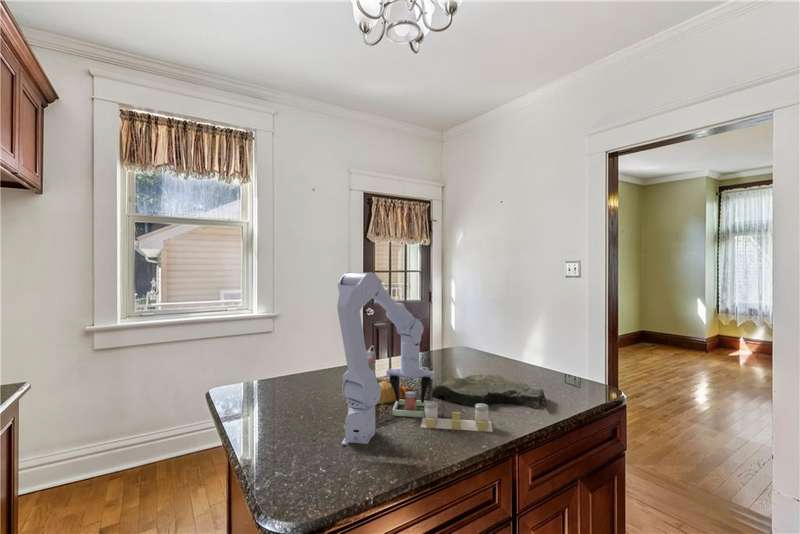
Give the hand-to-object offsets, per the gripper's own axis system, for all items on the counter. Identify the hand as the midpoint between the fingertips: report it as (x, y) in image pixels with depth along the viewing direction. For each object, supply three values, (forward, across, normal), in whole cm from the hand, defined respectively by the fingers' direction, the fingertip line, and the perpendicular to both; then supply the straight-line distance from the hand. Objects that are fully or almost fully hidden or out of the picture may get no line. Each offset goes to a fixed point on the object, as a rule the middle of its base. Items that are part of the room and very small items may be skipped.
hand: (410, 400), depth 116 cm
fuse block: (+4, -14, +8) cm, 17 cm away
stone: (+4, -24, -16) cm, 29 cm away
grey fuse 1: (+3, -7, +8) cm, 11 cm away
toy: (+4, +21, -28) cm, 35 cm away
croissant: (+4, +11, -9) cm, 15 cm away
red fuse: (+3, 0, 0) cm, 3 cm away
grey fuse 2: (+3, -21, +8) cm, 23 cm away
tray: (+4, 0, 0) cm, 4 cm away
